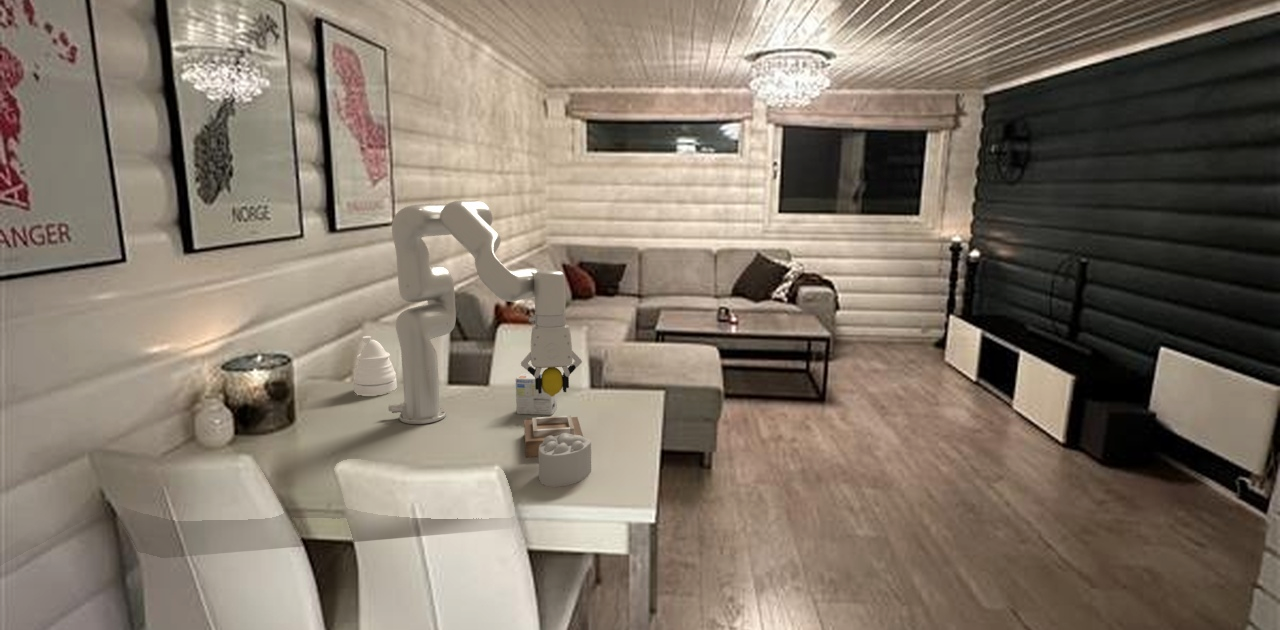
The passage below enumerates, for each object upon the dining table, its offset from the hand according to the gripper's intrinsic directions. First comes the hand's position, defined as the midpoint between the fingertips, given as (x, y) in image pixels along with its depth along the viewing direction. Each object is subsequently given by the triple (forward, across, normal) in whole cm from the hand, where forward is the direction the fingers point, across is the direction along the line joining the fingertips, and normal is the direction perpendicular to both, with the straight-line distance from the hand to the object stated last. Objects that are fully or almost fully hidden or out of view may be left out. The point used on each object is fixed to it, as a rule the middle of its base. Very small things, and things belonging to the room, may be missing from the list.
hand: (552, 390), depth 173 cm
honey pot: (+14, -53, +57) cm, 79 cm away
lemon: (+2, 0, 0) cm, 2 cm away
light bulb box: (+14, -3, +27) cm, 31 cm away
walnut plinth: (+14, 0, 0) cm, 14 cm away
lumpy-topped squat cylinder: (+14, +1, -20) cm, 25 cm away
